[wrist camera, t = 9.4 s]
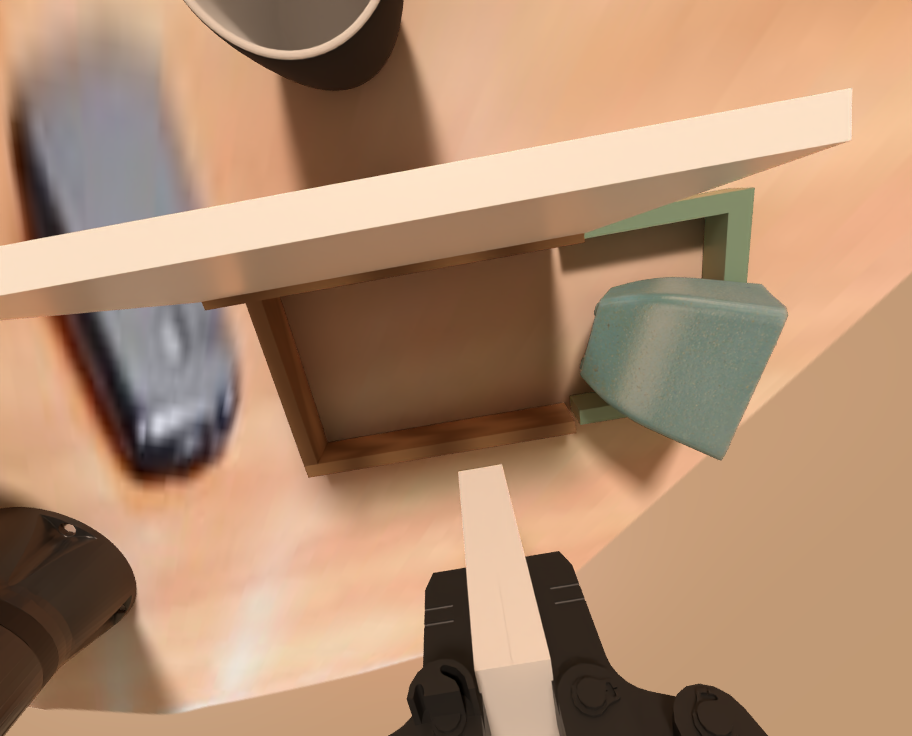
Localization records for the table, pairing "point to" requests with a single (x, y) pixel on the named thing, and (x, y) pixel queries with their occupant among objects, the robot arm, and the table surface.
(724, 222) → the potting tray
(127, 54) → the table surface
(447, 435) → the brown wooden box
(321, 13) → the mug
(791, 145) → the lid
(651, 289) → the flower pot
